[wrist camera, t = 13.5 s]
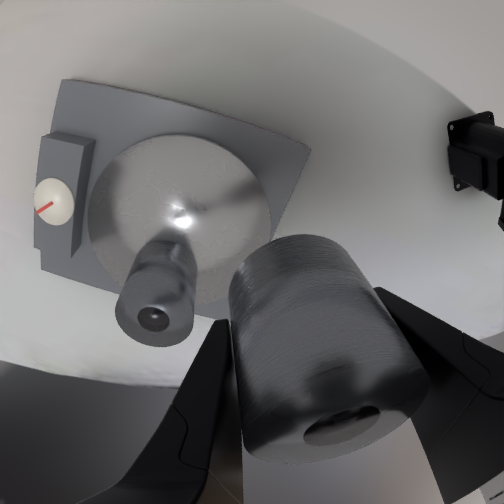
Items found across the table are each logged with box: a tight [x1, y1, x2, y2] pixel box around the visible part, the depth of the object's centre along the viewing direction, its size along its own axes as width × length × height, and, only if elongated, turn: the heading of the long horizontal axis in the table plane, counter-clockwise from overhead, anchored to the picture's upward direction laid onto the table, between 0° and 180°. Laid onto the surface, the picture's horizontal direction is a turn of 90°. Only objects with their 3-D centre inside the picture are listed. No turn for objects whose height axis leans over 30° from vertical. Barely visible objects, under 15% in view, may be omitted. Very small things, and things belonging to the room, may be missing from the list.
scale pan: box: [87, 134, 271, 306], centre depth 19 cm, size 12×12×1 cm
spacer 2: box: [228, 234, 430, 464], centre depth 8 cm, size 4×4×5 cm
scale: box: [34, 79, 311, 322], centre depth 19 cm, size 17×15×4 cm
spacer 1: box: [115, 240, 198, 347], centre depth 18 cm, size 4×4×5 cm
